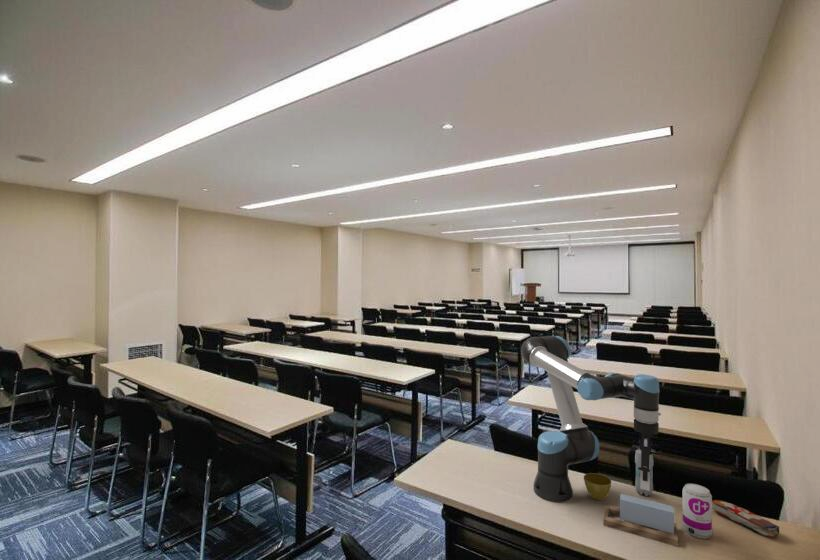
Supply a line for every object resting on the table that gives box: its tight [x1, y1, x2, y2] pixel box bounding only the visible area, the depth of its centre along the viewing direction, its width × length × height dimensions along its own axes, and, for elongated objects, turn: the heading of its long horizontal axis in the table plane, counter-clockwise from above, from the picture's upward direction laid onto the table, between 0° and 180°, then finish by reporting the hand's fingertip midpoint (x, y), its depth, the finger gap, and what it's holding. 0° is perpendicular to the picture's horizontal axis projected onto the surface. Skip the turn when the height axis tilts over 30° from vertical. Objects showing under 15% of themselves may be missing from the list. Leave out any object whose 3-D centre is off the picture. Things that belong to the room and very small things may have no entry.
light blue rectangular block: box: [619, 493, 675, 534], centre depth 139 cm, size 16×4×9 cm, turn 59°
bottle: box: [634, 444, 654, 497], centre depth 163 cm, size 7×7×20 cm
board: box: [602, 504, 679, 547], centre depth 140 cm, size 22×11×2 cm, turn 59°
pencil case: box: [712, 499, 780, 538], centre depth 142 cm, size 11×20×5 cm, turn 10°
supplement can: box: [681, 483, 713, 540], centre depth 137 cm, size 8×8×15 cm
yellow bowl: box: [583, 472, 612, 501], centre depth 160 cm, size 10×10×7 cm
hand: (645, 480), depth 139 cm, fingers open, 13 cm apart
